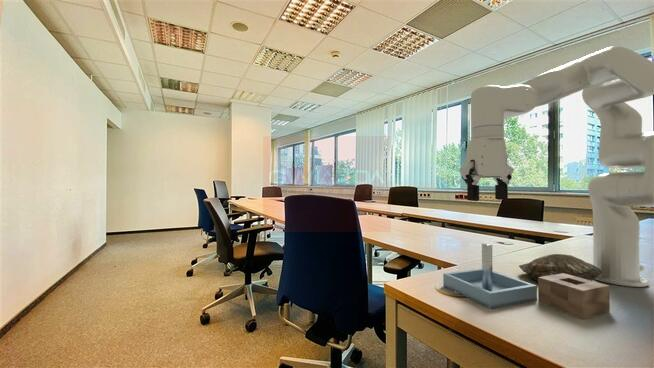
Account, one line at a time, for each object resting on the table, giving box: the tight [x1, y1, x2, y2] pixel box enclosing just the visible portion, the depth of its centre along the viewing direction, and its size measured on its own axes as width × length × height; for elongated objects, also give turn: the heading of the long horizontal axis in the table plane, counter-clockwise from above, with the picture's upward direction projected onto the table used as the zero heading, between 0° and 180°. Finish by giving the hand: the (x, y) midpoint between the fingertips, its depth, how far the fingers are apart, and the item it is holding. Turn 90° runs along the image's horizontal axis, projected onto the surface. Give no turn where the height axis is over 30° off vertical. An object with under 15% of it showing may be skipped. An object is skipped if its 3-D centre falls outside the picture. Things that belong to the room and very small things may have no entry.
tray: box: [442, 268, 538, 309], centre depth 73 cm, size 15×15×4 cm
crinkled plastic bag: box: [518, 253, 602, 282], centre depth 82 cm, size 16×9×20 cm
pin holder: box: [537, 273, 611, 320], centre depth 64 cm, size 9×9×6 cm
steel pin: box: [481, 243, 493, 291], centre depth 73 cm, size 2×2×12 cm
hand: (487, 200), depth 73 cm, fingers open, 9 cm apart
